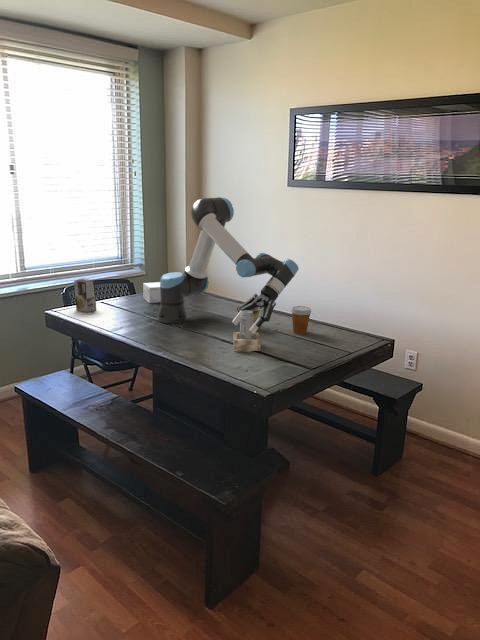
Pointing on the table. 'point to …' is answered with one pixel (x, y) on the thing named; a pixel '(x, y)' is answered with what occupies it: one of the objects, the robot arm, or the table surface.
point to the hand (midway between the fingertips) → (242, 327)
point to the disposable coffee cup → (300, 319)
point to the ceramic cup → (255, 312)
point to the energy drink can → (246, 324)
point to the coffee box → (85, 295)
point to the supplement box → (152, 292)
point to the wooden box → (246, 343)
